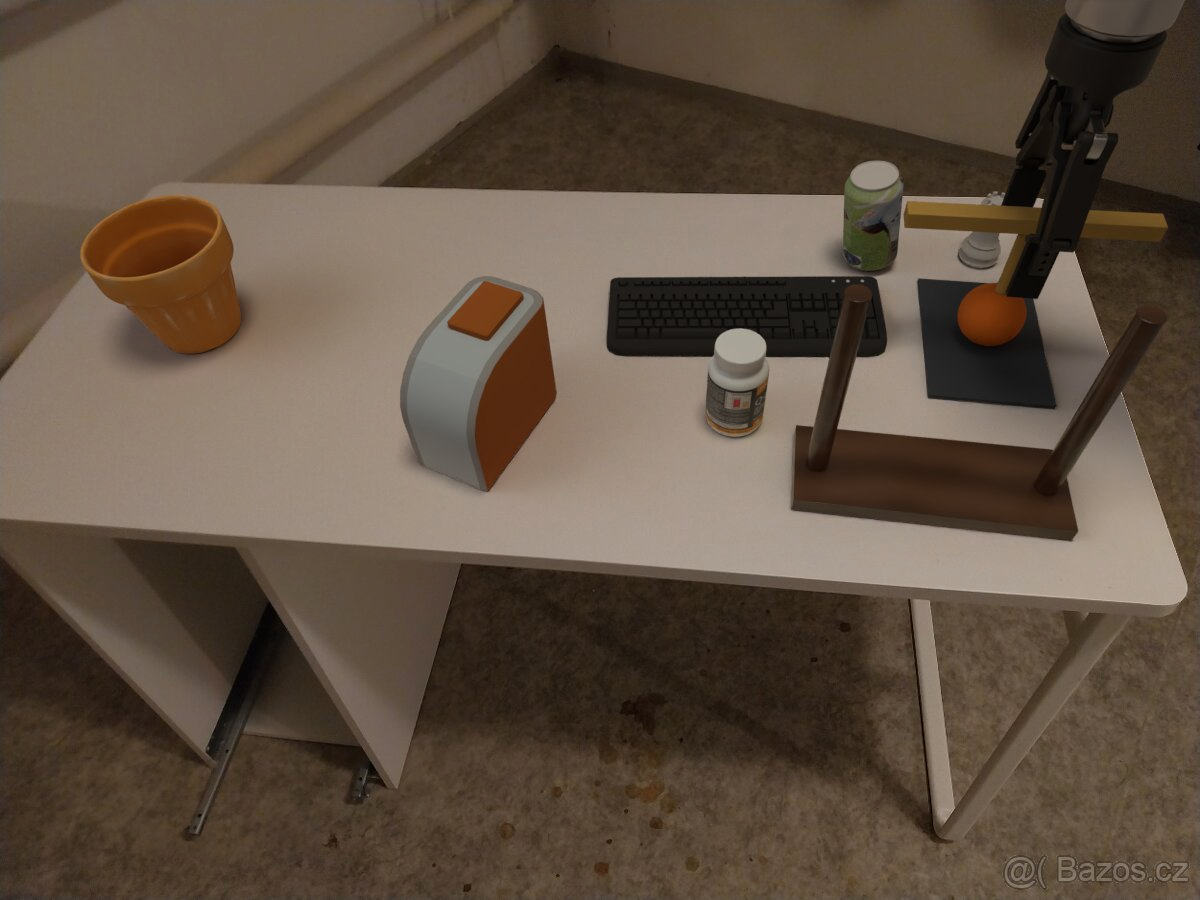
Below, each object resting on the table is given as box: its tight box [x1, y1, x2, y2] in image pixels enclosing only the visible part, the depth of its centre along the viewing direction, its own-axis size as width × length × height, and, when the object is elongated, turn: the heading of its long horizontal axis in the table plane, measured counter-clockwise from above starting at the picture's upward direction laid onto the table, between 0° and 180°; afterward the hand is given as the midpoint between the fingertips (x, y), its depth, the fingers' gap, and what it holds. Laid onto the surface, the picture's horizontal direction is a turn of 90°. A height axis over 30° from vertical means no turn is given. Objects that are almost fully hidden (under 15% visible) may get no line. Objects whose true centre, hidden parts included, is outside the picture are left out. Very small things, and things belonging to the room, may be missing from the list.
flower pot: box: [79, 194, 242, 355], centre depth 91 cm, size 14×14×13 cm
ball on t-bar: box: [903, 200, 1169, 346], centre depth 82 cm, size 6×22×16 cm, turn 80°
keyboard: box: [606, 275, 888, 358], centre depth 91 cm, size 30×11×2 cm, turn 87°
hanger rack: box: [790, 284, 1169, 542], centre depth 68 cm, size 9×24×22 cm, turn 80°
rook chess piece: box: [958, 191, 1006, 269], centre depth 93 cm, size 4×4×8 cm
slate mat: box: [916, 277, 1058, 410], centre depth 88 cm, size 18×12×1 cm, turn 170°
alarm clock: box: [399, 275, 558, 493], centre depth 79 cm, size 15×8×14 cm, turn 152°
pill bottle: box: [705, 328, 770, 438], centre depth 79 cm, size 6×6×10 cm
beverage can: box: [842, 159, 905, 272], centre depth 92 cm, size 6×7×12 cm
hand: (1014, 260), depth 80 cm, fingers open, 9 cm apart
